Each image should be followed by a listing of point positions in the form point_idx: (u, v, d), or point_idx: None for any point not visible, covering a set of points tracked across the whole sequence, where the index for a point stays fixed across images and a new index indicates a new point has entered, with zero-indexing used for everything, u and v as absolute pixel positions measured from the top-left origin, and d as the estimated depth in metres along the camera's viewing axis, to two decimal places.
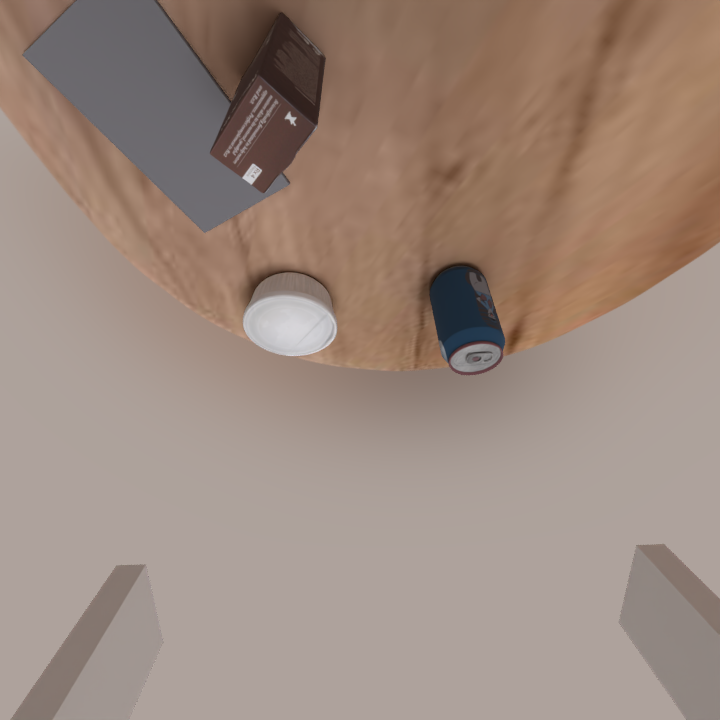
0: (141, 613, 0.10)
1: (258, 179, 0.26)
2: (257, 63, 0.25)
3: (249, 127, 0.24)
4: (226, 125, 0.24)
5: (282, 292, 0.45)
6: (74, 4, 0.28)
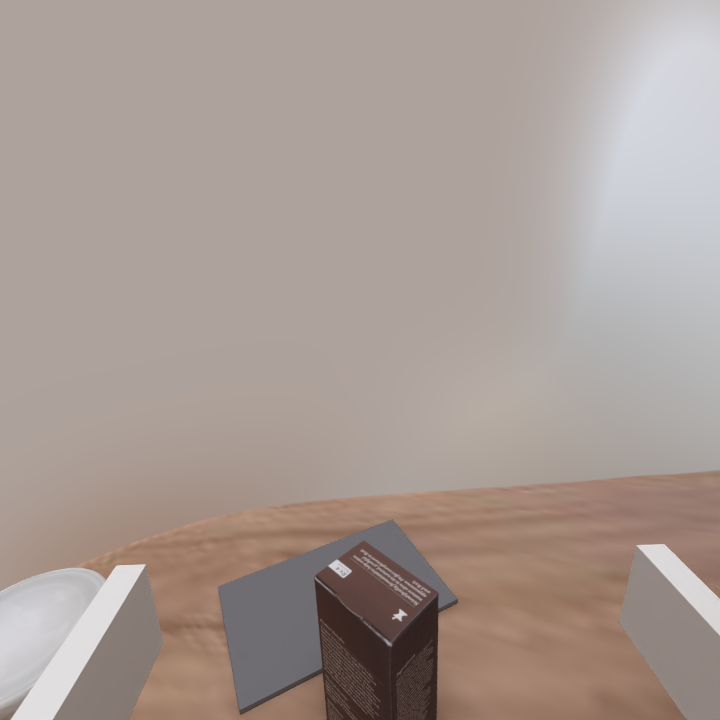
0: (141, 613, 0.10)
1: (333, 573, 0.23)
2: None
3: (389, 575, 0.23)
4: None
5: None
6: (423, 558, 0.38)
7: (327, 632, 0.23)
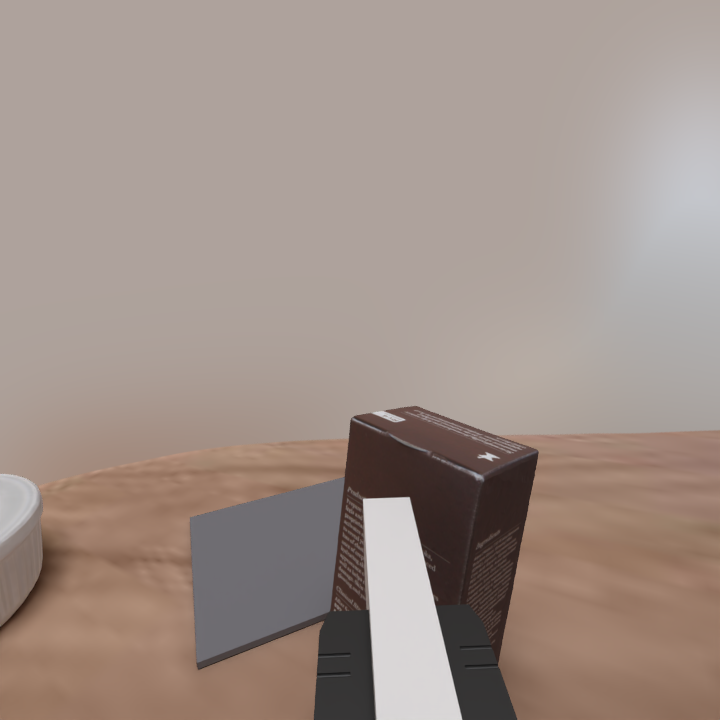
0: None
1: (379, 417, 0.16)
2: None
3: (460, 429, 0.16)
4: (456, 422, 0.17)
5: (8, 546, 0.20)
6: None
7: (356, 506, 0.16)
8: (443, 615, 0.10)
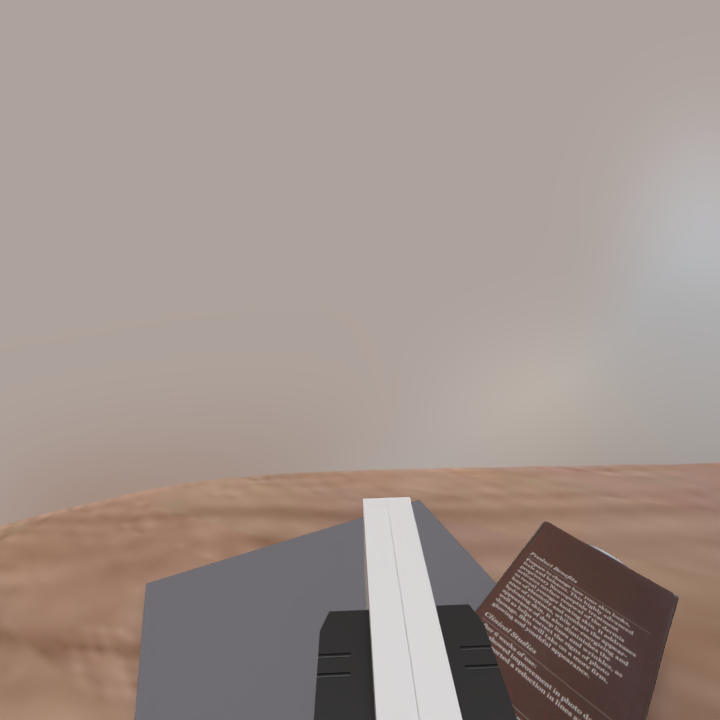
0: None
1: None
2: None
3: None
4: None
5: None
6: (471, 558, 0.24)
7: (539, 566, 0.18)
8: (443, 615, 0.10)
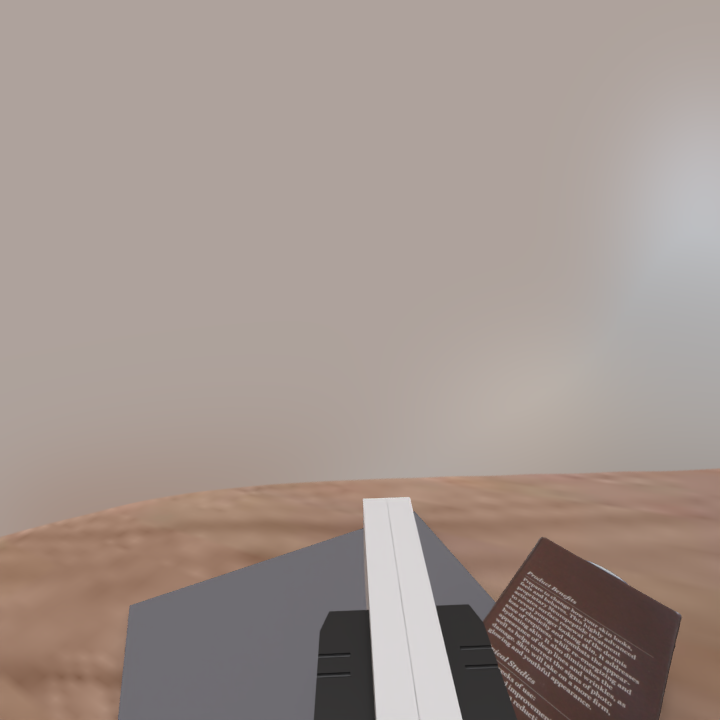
0: None
1: None
2: None
3: None
4: None
5: None
6: (468, 573, 0.24)
7: (537, 587, 0.18)
8: (443, 615, 0.10)
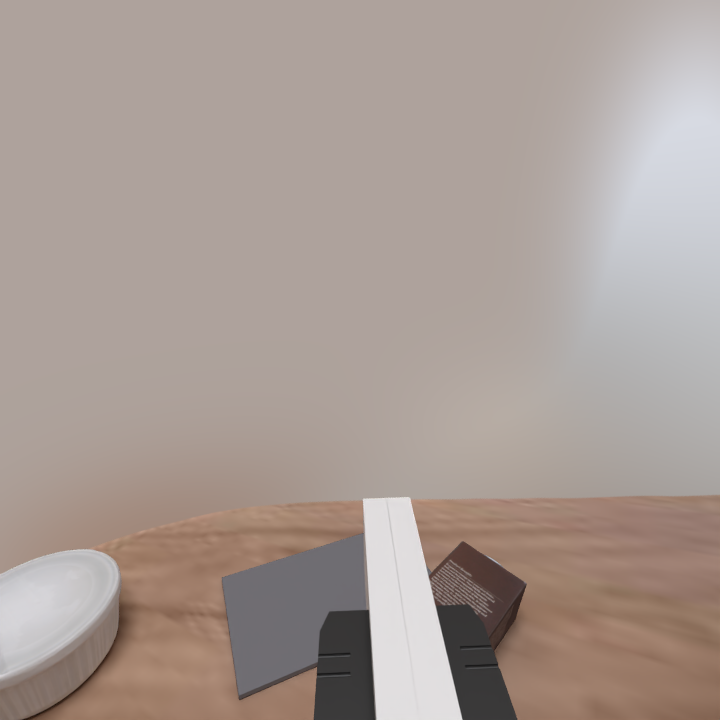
0: None
1: None
2: None
3: None
4: None
5: (106, 612, 0.29)
6: None
7: (452, 567, 0.33)
8: (443, 615, 0.10)
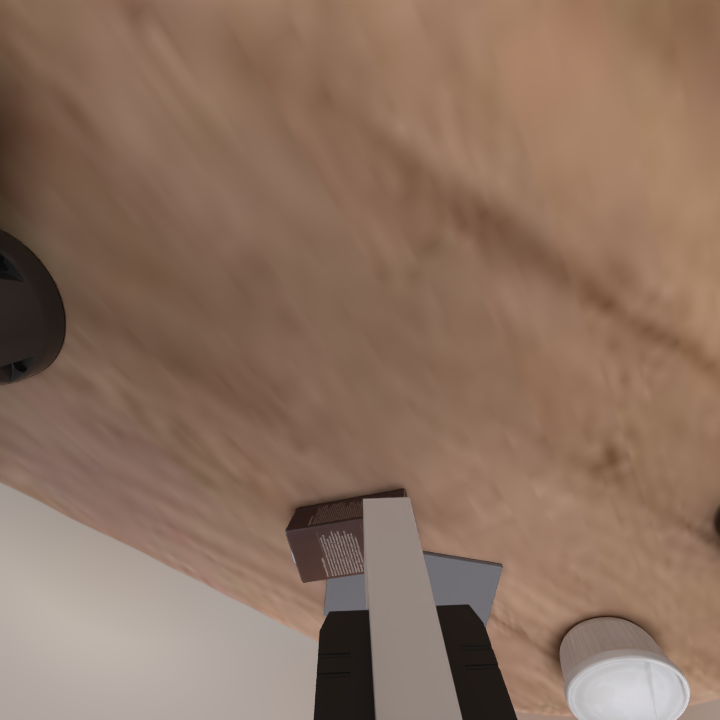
0: None
1: None
2: None
3: None
4: None
5: (580, 666, 0.40)
6: None
7: (331, 570, 0.39)
8: (443, 615, 0.10)
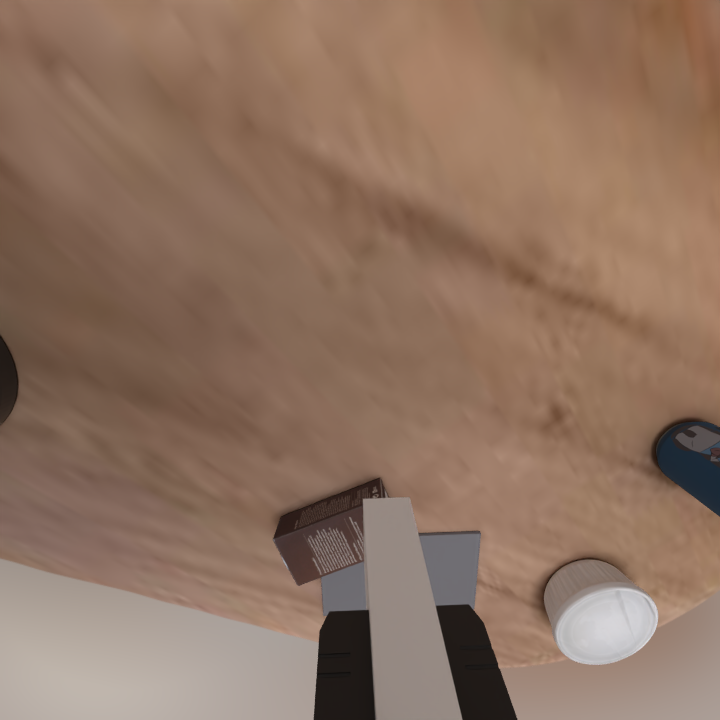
0: None
1: None
2: None
3: None
4: None
5: (562, 609, 0.43)
6: None
7: (323, 568, 0.41)
8: (443, 615, 0.10)
